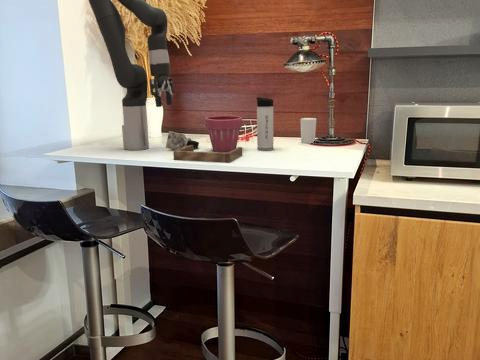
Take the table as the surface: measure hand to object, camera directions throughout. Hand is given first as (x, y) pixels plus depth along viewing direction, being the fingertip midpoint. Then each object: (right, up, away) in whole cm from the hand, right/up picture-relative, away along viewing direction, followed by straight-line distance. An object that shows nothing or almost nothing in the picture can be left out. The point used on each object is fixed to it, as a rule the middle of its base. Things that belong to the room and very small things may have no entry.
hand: (164, 105), depth 176 cm
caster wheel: (+7, -17, +6) cm, 19 cm away
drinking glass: (+58, -13, +15) cm, 61 cm away
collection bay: (+18, -21, -13) cm, 30 cm away
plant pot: (+23, -17, +1) cm, 29 cm away
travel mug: (+39, -17, +1) cm, 43 cm away
